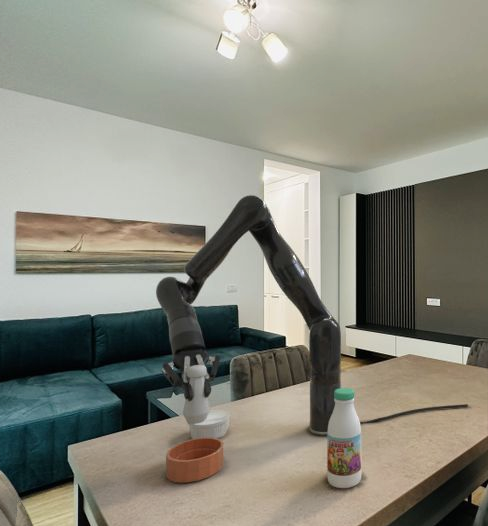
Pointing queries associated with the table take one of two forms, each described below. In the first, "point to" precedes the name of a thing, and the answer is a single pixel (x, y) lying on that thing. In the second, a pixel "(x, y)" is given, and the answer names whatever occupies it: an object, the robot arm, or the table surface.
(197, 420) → the salt shaker
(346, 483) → the milk bottle
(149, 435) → the table surface
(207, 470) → the bowl
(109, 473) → the table surface
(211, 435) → the ramekin
